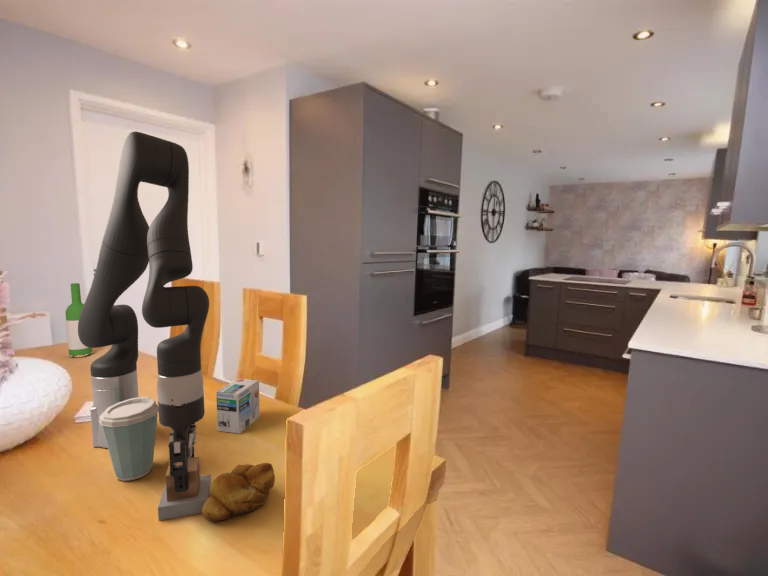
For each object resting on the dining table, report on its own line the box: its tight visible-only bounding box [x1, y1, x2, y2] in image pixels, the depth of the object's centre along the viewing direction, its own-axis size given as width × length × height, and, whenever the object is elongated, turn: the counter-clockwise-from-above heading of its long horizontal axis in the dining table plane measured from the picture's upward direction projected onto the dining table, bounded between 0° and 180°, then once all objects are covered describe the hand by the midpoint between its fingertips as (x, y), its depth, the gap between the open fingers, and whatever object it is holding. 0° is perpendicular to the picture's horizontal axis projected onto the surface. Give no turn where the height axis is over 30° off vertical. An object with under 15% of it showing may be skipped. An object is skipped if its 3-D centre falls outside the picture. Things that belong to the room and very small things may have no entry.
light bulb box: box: [215, 378, 261, 434], centre depth 107 cm, size 11×7×11 cm, turn 168°
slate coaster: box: [157, 474, 212, 521], centre depth 76 cm, size 8×8×2 cm
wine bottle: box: [65, 282, 93, 356], centre depth 163 cm, size 8×8×30 cm
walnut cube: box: [165, 456, 201, 501], centre depth 75 cm, size 5×5×5 cm
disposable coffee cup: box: [99, 396, 159, 482], centre depth 84 cm, size 11×11×15 cm
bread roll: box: [202, 462, 276, 522], centre depth 75 cm, size 13×10×8 cm
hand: (185, 477), depth 75 cm, fingers open, 8 cm apart
